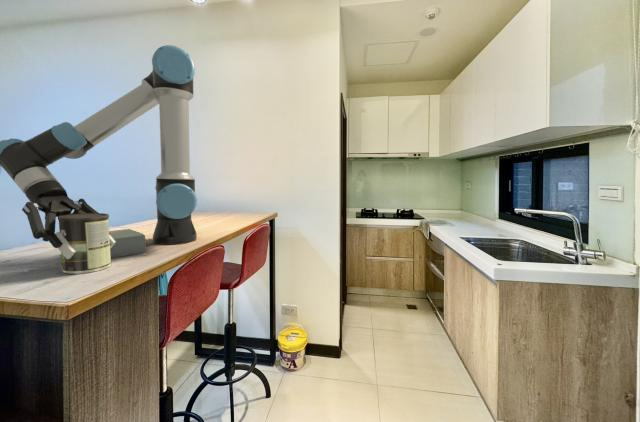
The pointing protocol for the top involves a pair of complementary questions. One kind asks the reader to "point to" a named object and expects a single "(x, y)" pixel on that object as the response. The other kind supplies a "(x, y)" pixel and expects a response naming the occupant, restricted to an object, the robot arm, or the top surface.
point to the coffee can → (86, 242)
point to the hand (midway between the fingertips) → (93, 250)
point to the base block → (127, 243)
